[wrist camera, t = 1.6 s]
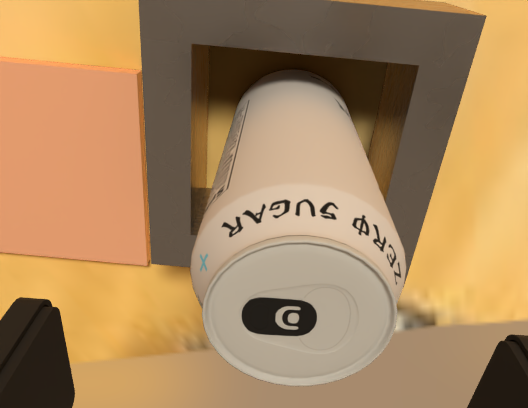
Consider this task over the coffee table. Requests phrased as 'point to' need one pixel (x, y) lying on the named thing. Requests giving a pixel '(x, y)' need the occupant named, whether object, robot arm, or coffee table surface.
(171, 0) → the frame
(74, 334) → the coffee table surface
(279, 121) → the energy drink can
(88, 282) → the coffee table surface
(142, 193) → the terracotta tile
